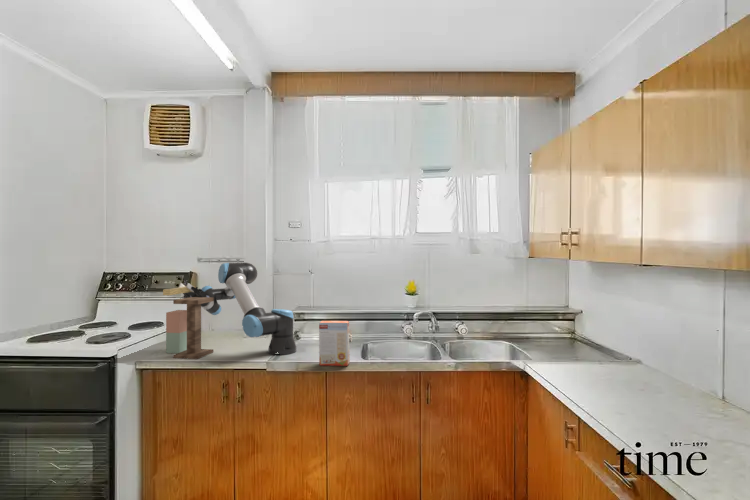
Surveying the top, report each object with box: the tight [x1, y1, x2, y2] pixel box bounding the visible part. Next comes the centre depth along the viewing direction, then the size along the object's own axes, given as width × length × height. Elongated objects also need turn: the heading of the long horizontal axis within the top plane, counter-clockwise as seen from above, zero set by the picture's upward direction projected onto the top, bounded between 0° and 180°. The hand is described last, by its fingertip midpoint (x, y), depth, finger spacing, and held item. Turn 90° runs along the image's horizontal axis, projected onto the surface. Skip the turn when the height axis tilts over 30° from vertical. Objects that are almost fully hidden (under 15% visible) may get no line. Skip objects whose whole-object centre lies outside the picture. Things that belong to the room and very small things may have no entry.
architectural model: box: [349, 329, 353, 343], centre depth 240 cm, size 3×7×7 cm, turn 71°
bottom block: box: [165, 331, 187, 354], centre depth 218 cm, size 8×10×11 cm
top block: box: [165, 309, 187, 334], centre depth 219 cm, size 8×10×11 cm
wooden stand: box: [172, 297, 214, 360], centre depth 209 cm, size 14×14×30 cm
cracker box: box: [318, 320, 351, 367], centre depth 191 cm, size 14×6×21 cm, turn 84°
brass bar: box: [162, 285, 196, 296], centre depth 220 cm, size 4×22×3 cm, turn 171°
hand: (183, 285), depth 223 cm, fingers closed on brass bar, 4 cm apart
